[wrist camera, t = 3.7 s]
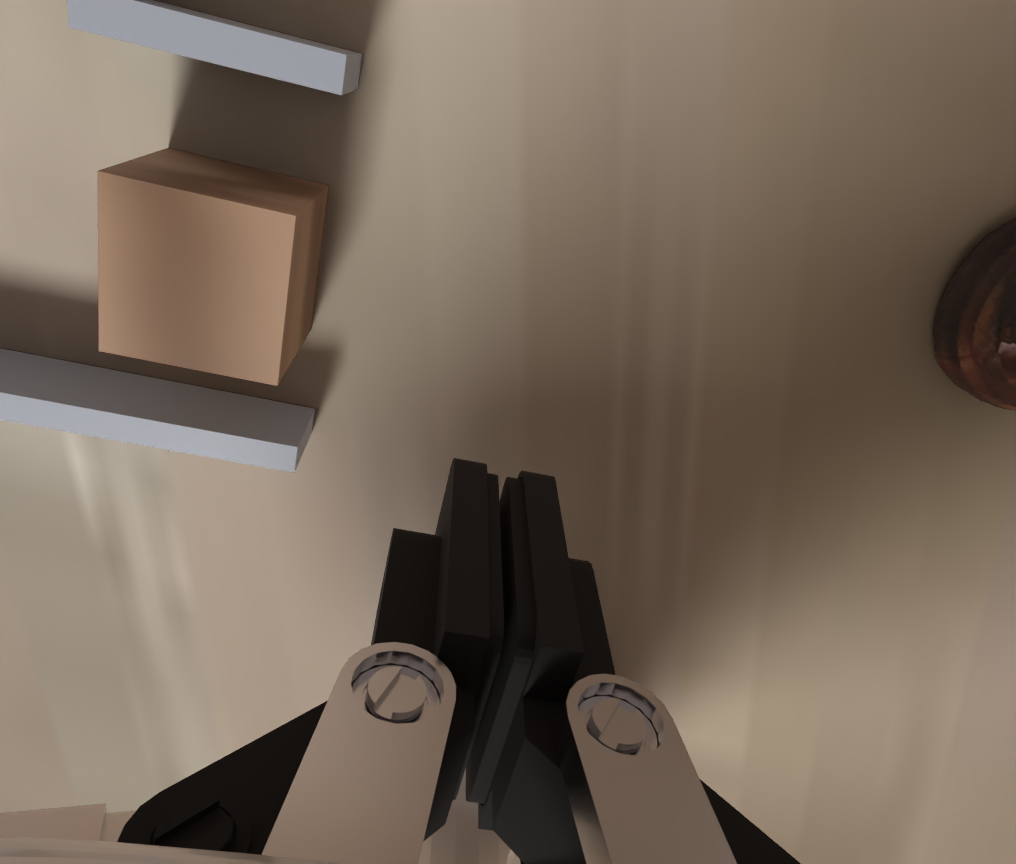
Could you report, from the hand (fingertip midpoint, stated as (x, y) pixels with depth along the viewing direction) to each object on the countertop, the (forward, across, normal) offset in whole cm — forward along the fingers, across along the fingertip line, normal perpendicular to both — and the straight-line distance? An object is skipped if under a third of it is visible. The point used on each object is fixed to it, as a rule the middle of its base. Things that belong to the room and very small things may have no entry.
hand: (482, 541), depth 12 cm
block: (+15, +8, +1) cm, 17 cm away
